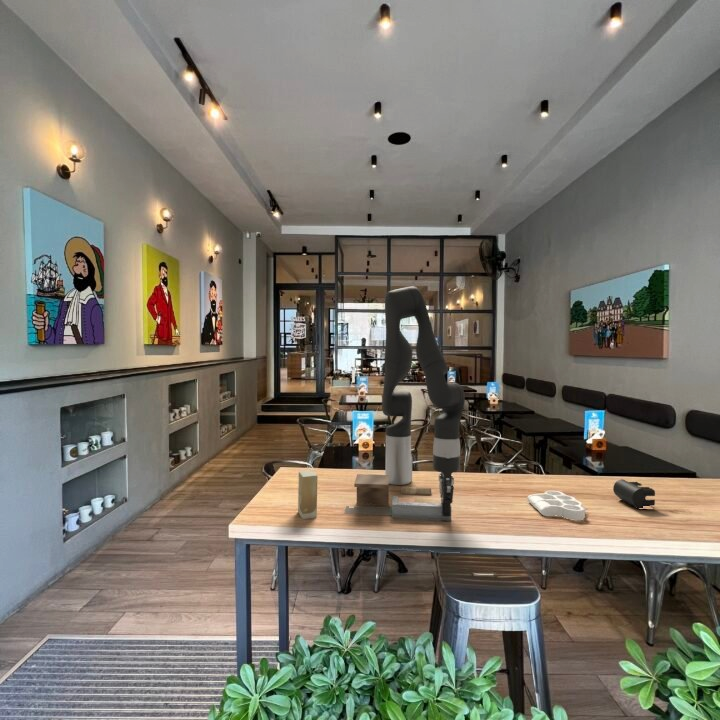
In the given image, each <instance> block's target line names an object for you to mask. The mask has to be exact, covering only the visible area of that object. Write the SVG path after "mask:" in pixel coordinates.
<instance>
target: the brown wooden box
mask: <svg viewBox="0 0 720 720" xmlns="http://www.w3.org/2000/svg"><path fill="white" fill-rule="evenodd" d="M353 485H354V486H353V487H354V488H356V505H371V506H373V505H375V506H376V505H377V506H390V505H389V503H390V484H389V475H385V474H370V473H369V474H368V473H367V474H365V473H362V474H361V473H360V474H359V473H357V474H356V477H355V481H354V483H353Z"/></svg>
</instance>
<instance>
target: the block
mask: <svg viewBox="0 0 720 720" xmlns="http://www.w3.org/2000/svg"><path fill="white" fill-rule="evenodd" d="M398 502H416V500H415V497H398Z"/></svg>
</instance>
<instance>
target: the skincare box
mask: <svg viewBox="0 0 720 720" xmlns="http://www.w3.org/2000/svg"><path fill="white" fill-rule="evenodd" d="M297 491H298V493H297V494H298V497H297V498H298V500H297V501H298V502H297V512H298V514H299V516H300V517H301V519H302V520H304V519H305V520H306V519H313V518H317V517H318V475H317V473H316V472H315V471H314V470H313V469H308V470H299V471H298V490H297Z"/></svg>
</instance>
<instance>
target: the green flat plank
mask: <svg viewBox="0 0 720 720" xmlns="http://www.w3.org/2000/svg"><path fill="white" fill-rule="evenodd" d="M349 506H350V505H346V506H345V509H344V512H343V514H347V515H348V514H350V515H352V514H353V515H354V514H355V515H377V516H378V515H379V516H392V507H385V506H384V507H380V506H359V507H354V508H349Z"/></svg>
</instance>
